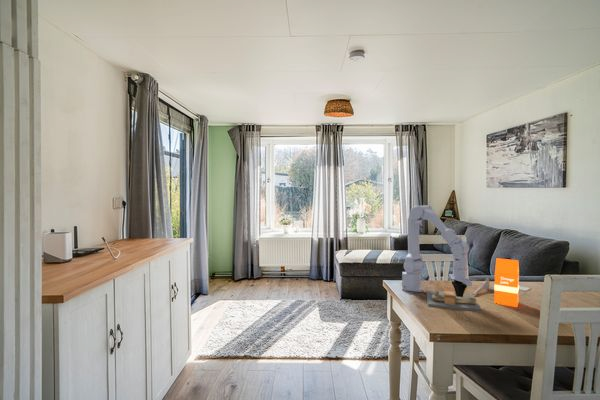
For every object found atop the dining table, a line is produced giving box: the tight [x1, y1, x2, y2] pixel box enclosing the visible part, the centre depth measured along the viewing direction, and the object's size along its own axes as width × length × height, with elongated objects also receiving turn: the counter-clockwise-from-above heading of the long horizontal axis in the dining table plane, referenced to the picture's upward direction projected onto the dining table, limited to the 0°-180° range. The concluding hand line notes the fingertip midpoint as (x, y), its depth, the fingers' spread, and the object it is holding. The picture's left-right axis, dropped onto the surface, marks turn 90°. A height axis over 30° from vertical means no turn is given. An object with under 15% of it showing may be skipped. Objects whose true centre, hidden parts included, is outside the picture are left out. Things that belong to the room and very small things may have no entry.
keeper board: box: [425, 290, 482, 312], centre depth 153 cm, size 21×21×5 cm
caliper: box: [472, 277, 490, 297], centre depth 166 cm, size 20×1×6 cm, turn 132°
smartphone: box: [519, 285, 531, 292], centre depth 176 cm, size 7×1×15 cm
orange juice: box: [493, 257, 520, 308], centre depth 150 cm, size 8×9×20 cm
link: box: [432, 290, 477, 304], centre depth 148 cm, size 18×4×4 cm, turn 73°
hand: (459, 297), depth 152 cm, fingers closed
